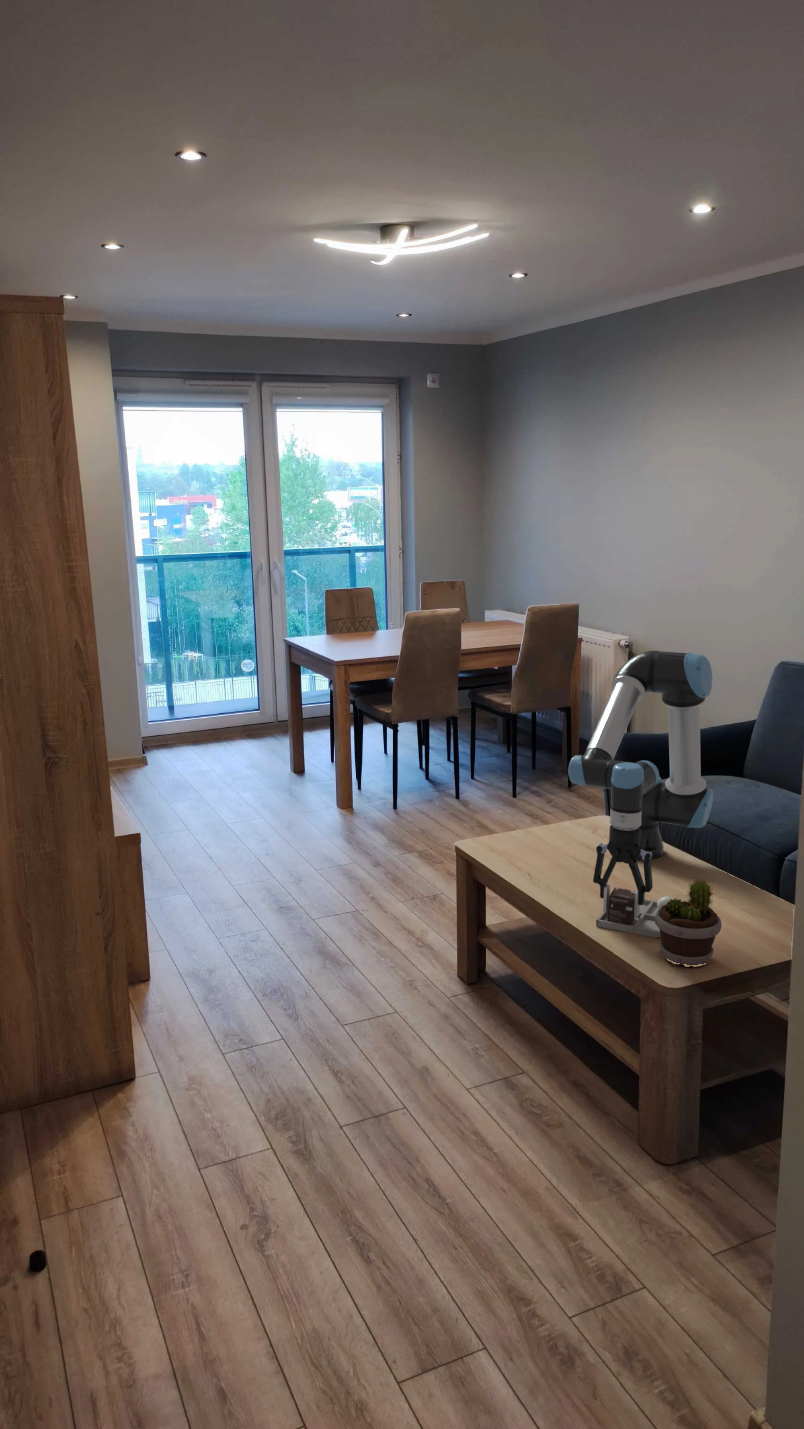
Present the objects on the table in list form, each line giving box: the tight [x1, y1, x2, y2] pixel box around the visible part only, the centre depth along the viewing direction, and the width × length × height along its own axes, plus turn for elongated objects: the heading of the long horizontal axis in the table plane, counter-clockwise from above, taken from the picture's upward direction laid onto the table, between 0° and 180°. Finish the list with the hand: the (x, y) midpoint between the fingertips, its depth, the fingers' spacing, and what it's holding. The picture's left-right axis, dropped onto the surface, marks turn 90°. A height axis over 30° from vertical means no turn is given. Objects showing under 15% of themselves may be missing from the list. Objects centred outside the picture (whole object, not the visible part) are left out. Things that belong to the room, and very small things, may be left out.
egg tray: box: [595, 898, 661, 939], centre depth 255 cm, size 19×19×2 cm
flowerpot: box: [655, 875, 722, 965], centre depth 231 cm, size 14×15×20 cm
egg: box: [657, 895, 674, 911], centre depth 257 cm, size 5×5×5 cm
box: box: [607, 887, 636, 926], centre depth 253 cm, size 6×6×7 cm
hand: (621, 913), depth 253 cm, fingers open, 7 cm apart
